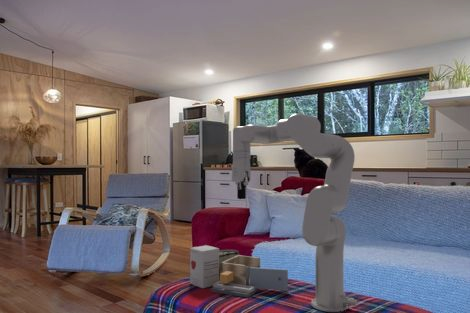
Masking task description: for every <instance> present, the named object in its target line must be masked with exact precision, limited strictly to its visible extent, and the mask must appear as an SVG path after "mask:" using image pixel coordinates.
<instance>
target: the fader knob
mask: <svg viewBox="0 0 470 313" xmlns="http://www.w3.org/2000/svg"><path fill="white" fill-rule="evenodd" d="M219 281H220V282H221V283H225V285H229V282H231V281H233V272H230V271H225V272H223V273H221V274H220V276H219Z"/></svg>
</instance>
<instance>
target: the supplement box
mask: <svg viewBox="0 0 470 313" xmlns="http://www.w3.org/2000/svg"><path fill="white" fill-rule="evenodd" d="M189 250H190V251H189V254H190V256H189V259H190V260H189V262H190V264H189V266H190V267H189V270H190V271H189V272H190V273H189V280H190V281H189V284H191V285H193V286H195V287H198V288H200V289H205V288H209V287H213V284H214V283H216V282H218V281H220V276H219V251H220V248H218V247H215V246H212V245H211V246H210V245H207V244H205V245H200V246H193V247H190V249H189Z"/></svg>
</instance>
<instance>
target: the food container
mask: <svg viewBox="0 0 470 313" xmlns="http://www.w3.org/2000/svg"><path fill="white" fill-rule="evenodd" d="M237 255H240V253H239V250H236V249H221V250H220V249H219V277H220V263H221V262H223V261H226V260H228V259H230V258H232V257H235V256H237Z"/></svg>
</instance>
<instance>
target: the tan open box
mask: <svg viewBox="0 0 470 313" xmlns="http://www.w3.org/2000/svg"><path fill="white" fill-rule="evenodd" d="M246 266H248V267H249V286H250V267H254V268H261V257H257V256H247V255H241V254H239V255H237V256H235V257H232V258H230V259H228V260H226V261H223V262H221V263H220V274H221V273H223V272H225V271H230V272H233V281H231V282H229V283H233V284H240V285H246Z"/></svg>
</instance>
